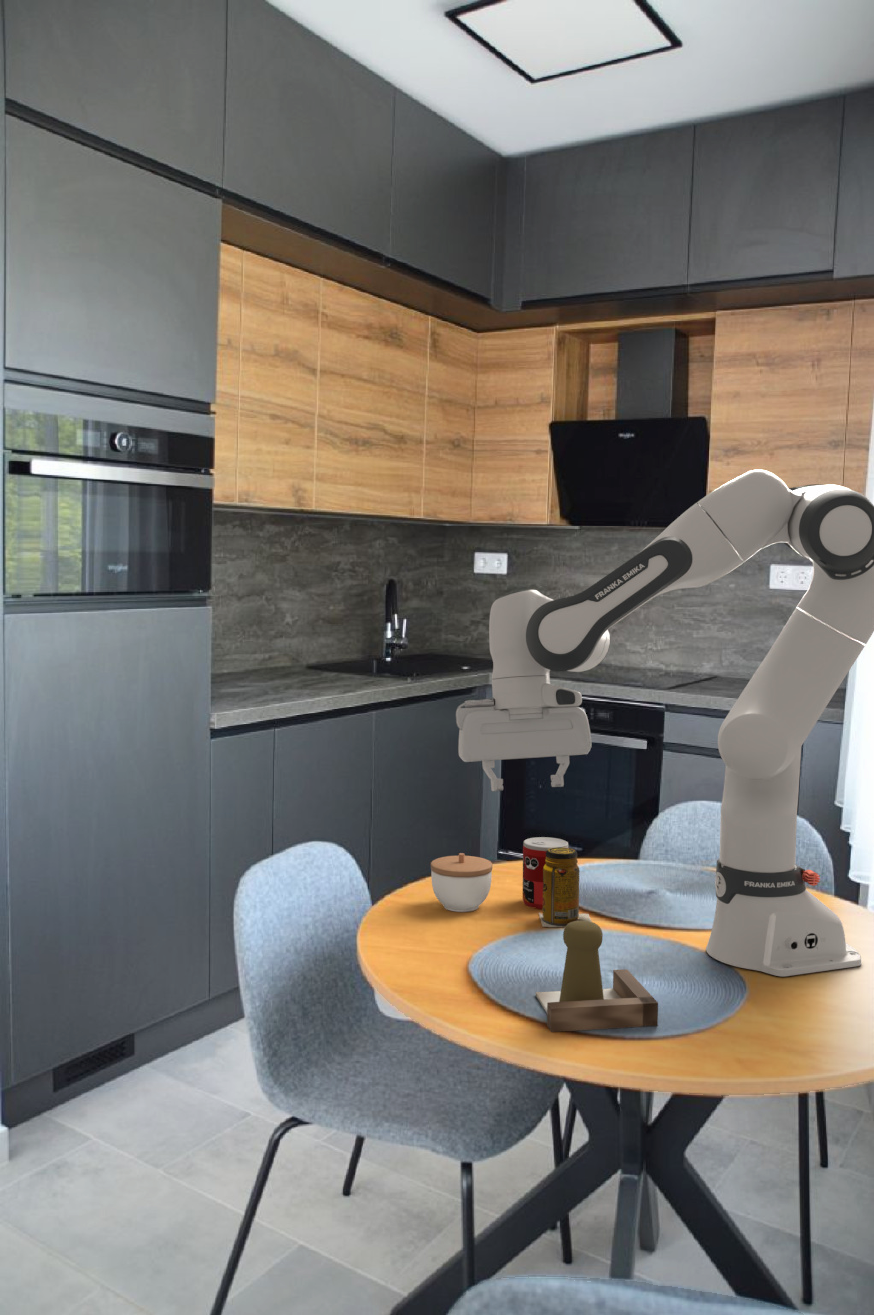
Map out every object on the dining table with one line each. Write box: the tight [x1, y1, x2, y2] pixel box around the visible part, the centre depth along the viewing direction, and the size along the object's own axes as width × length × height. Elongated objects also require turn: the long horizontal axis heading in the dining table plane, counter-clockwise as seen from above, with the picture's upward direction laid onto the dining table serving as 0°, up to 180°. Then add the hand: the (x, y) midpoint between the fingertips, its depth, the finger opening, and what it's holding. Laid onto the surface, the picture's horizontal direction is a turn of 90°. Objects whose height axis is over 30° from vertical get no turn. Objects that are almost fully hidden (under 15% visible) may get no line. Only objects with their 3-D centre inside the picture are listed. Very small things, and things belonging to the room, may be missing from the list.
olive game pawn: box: [559, 921, 604, 1002], centre depth 142 cm, size 6×6×11 cm
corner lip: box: [535, 968, 659, 1033], centre depth 141 cm, size 14×12×3 cm
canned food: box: [522, 836, 569, 910], centre depth 188 cm, size 8×8×11 cm
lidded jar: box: [430, 852, 493, 913], centre depth 186 cm, size 11×11×9 cm
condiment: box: [538, 847, 592, 928], centre depth 179 cm, size 7×8×12 cm
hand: (527, 788), depth 161 cm, fingers open, 8 cm apart
